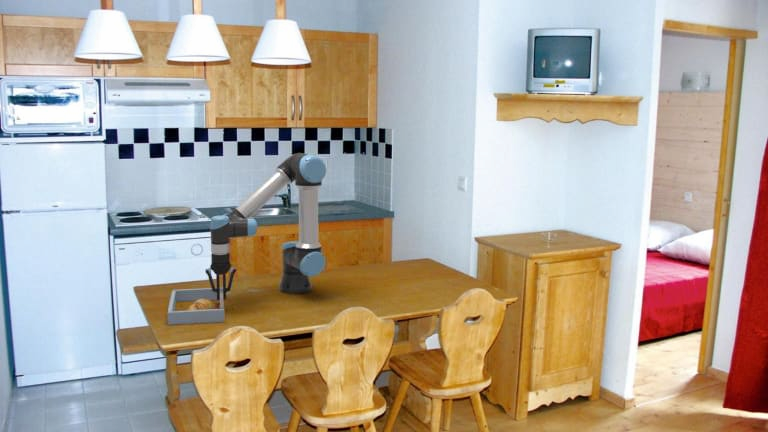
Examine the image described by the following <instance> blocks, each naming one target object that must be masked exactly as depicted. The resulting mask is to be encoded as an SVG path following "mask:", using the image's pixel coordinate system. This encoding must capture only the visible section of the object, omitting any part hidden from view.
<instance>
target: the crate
mask: <svg viewBox="0 0 768 432" xmlns="http://www.w3.org/2000/svg"><path fill="white" fill-rule="evenodd" d="M215 288H216V289H217V287H215ZM220 291H223V287H220ZM199 299H209V300H212V301H218V300H217V293H216V292H213V291H212V288H211V287H210V288H209V287H207V288H205V287H204V288H188V289H187V288H186V289H172V290H171V295H170V299H169V303H168V310H167V325H168V326H169V325H170V326H172V325H174V326H175V325H190V324H205V323H207V324H208V323H210V324H211V323H224V322H226V321H225V320H226V319H225V318H226V317H225V316H226V315H225V308H218V309H209V310H190V311H186V310H175V309H176V305H177V302H195V301H196V300H199Z"/></svg>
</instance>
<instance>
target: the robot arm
mask: <svg viewBox="0 0 768 432" xmlns="http://www.w3.org/2000/svg"><path fill="white" fill-rule="evenodd" d="M326 173H327V166H326V163H325V162H324V160H323V159H321V158H320V157H319V156H316V155H314V154H308V153H304V152H297V153H294V154H291V155H290V156H289V157H288V158H286V159H284V161H283V162H282V163H280V164H279V165H278V166H277V167H276V168H275V172H274V173H273V174H271V175H270V176H269V177H268V178H267V179H266V180H265V181H264V182H263V183H261V185H259V187H257V188H256V189H255V190H254V191H253V192H252V193H250V195H248V196H247V197H246V198H245V199H244V200H243V201H242V202H241V203H240V204H239V205H237V207H235V208H234V209H233V210H232V211H230V212H227V213H225V214H223V215H214V216H212V217H211V218H210V227H209V229H210V251H211V254H210V257H211V260H210V261H211V264H210V266H209V267H208V268H206V269H205V274H206V275H207V278H208V281H209V283H210V288H212V291H213V292H216V293H217V300H216V301H219V302H220V306H219V309H225V306H224V301H225V300H226V299H227V293H228V292H230V291H231V289H232V284H233V281H234V280H233V279H234V276H235V273H236V272H237V268H236V267H234V266H232V264H231V258H230V257H231V256H230V255H231V254H230V249H231V248H230V239H234V238H244V237H245V238H246V237H253V236H256V235H257V233H258V223H257V221H256V219H255V218H253V216H254V215H256V213H257V212H258V211H260V209H261V208H263V207H264V206H265V205H266V204H267V203H269V201H270V200H272V198H273V197H275V196H276V195H277V194H279V192H280V191H281V190H283V188H285V187H286V186H287V185H291V184H292V183H294V185H295V187H297V188H298V240H294V241H286V242H284V243H283V244H282V249H281V250H282V275H281V278H280V282H279V284H278V287H279V288H278V289H279V292H281V293H285V294H292V295H297V294H298V295H299V294H306V293H309V292H311V291H312V282H311V279H310V277H315V276H318V275H320V274H321V273H322V272H323V270H324V269H325V267H326V264H327V263H326V262H327V261H326V257H325V255H324V254H323V253H322V244H321V243H320V242H319V189H320V188H321V186H323V185H322V181H323V179H324V178H325V176H326ZM229 271H230V275H229V278H228V279H229V280H228V284H227V282H226V281H227V280H226V274H228V272H229ZM212 272H213V274H215V275H216V286H215V284H214V280H213V276H212ZM220 275H221V276H222V288H223V291H220V288H221V286H220V285H221V283H220ZM216 288H217V289H216Z"/></svg>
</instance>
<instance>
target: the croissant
mask: <svg viewBox="0 0 768 432" xmlns="http://www.w3.org/2000/svg"><path fill="white" fill-rule="evenodd" d="M192 302H193V303H192V304H191V305H189V307H188V308H187V309H185V311H190V310H209V309H220V300H209V299H199V300H196V301H192Z"/></svg>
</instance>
